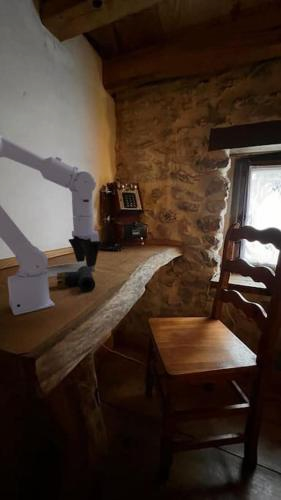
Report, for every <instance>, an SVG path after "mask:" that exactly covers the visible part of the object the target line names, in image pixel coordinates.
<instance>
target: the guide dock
mask: <svg viewBox="0 0 281 500" xmlns="http://www.w3.org/2000/svg"><path fill="white" fill-rule="evenodd" d="M82 266H87V263H86V260H84V261H82V262H77V261H75V262H69V263H68V262H67V263H61V264H55V265H47V267H46V269H47V272H48V278H52V277H57V273H62V272H76V271H78V269H79V268H80V267H82ZM87 267H88V266H87ZM89 268H90V270H91V273H93V272H95V266H90V267H89Z"/></svg>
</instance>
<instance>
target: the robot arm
mask: <svg viewBox="0 0 281 500" xmlns="http://www.w3.org/2000/svg"><path fill="white" fill-rule="evenodd" d="M0 158H1V159H2V158H6V159H9V160H12V161H14V162H16V163H19V164H22V165H24V166H26V167H28V168H31V169H34V170H36V171H39V172H40V175H41V176H42V178H43V179H44V180H47V181H50V182H51V183H54V184H56V185H58V186H60V187H63V188H65V189H69V191H70V192H71V205H72V206H71V208H72V224H73V225H72V226H73V230H71V237H72V238H70V239H68V242H69V244H70V245H71V247H72V250H73V253H74V256H75V260H76V262H82V261H86V263H87V266H88V267H90V266H94V267H95V266H96V263H97V259H98V254H99V251H100V248H101V247H102V245H103V241H102V240H100V234H99V231H98V230H97V231H96V230H95V219H94V217H95V215H94V197H93V192H94V190H95V188H96V186H97V183H96V182H95V179H94V176H92V174H91V173H89V172H87V171H84V170H83V171H80V170H79V167H77V166H74V167H73V166H71V165H69V164H67V163H65V162H64V161H62V158H61V157H58V156H56V157H52V156H49V157H46V158H44V157H42V156H40V155H38V154H36V153H34V152H32V151H31V150H28V149H27V148H25V147H23V146H21V145H19V144H17V143H15V142H14V141H12V140H10V139H8V138H6V137H4V136H2V135H1V134H0ZM0 239H1V240H2V241H3V242H4V243H5V245H6V246H7V247H8V248H9V250H10V251H11V252H12V253H13V254H14V256H15V260H16V263H17V264H18V266H19V268H18V269H17V270H16V274H14V275H11V276H8V277H7V287H8V288H7V289H8V296H9V297H8V304H9V306H10V309H11V311H12V314H13V315H14V316H18V315H21V314H27V313H30V312H34V311H38V310H43V309H47V308H51V307H55V306H56V305H55V304H56V303H54V301H52V299H51V297H50V289H49V288H50V287H49V277H48V272H47V269H46V267H47V266H48V261H49V260H48V259H49V258H48V256H47V255H46V254H45V252H44V251H42V250H40V249H39V248H38V247H37V246H34V245H33V244H32V242H31V241H30V240H29V239H28V237H26V235H24V233H23V232H22V231H21V229H20V227H18V226H17V224H16V223H15V222H14V220H13V219H12V218H11V216H9V214H8V213H7V212H6V210H5V209H4V208H3V207H2V206H1V204H0Z"/></svg>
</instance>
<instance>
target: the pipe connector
mask: <svg viewBox="0 0 281 500" xmlns="http://www.w3.org/2000/svg"><path fill="white" fill-rule="evenodd" d="M56 280H57V283H56V284H57V285H56V286H57V287H56V288H57V289H64V288H74V287H78V288H79V290H80V291H81V292H83V293H87V292H88V293H89V292H93V291H94V290H95V287H96V281H95V279H94V276H93V272H91V270H90V268H89V267H87V266H82V267H80V268H79V269H78V271H76V272H62V273H57V276H56Z"/></svg>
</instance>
